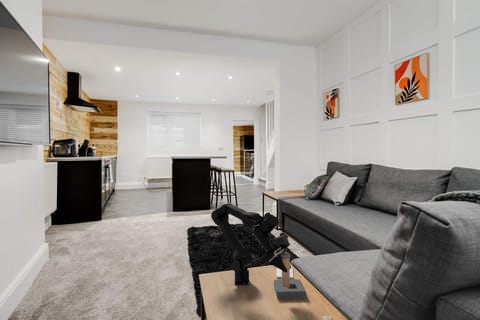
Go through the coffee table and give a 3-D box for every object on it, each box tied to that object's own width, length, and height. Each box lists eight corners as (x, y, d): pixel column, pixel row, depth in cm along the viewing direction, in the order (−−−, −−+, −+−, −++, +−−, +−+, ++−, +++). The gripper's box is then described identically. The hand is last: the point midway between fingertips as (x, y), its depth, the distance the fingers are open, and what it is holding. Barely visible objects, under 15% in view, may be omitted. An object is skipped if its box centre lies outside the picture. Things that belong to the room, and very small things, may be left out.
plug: (281, 287, 98) (280, 255, 98) (281, 282, 101) (280, 252, 101) (290, 288, 97) (290, 255, 97) (290, 283, 101) (289, 252, 101)
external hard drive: (292, 268, 129) (293, 280, 117) (276, 268, 130) (276, 279, 118) (292, 265, 129) (293, 277, 117) (276, 265, 130) (276, 276, 118)
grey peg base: (277, 298, 101) (276, 291, 101) (274, 286, 111) (273, 279, 111) (305, 298, 101) (305, 291, 101) (300, 285, 111) (300, 279, 111)
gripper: (265, 233, 94) (292, 268, 87) (285, 222, 109) (310, 251, 102) (248, 249, 98) (273, 283, 92) (270, 236, 114) (293, 265, 107)
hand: (288, 270), depth 98 cm, fingers closed on plug, 3 cm apart
